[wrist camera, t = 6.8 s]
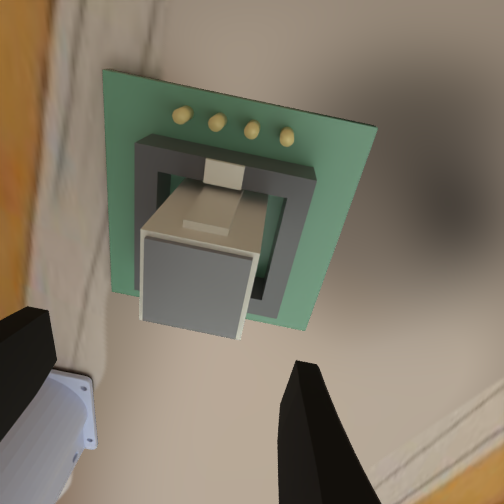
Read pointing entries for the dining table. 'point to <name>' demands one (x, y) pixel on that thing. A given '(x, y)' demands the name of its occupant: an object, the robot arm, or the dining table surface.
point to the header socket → (233, 179)
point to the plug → (201, 258)
